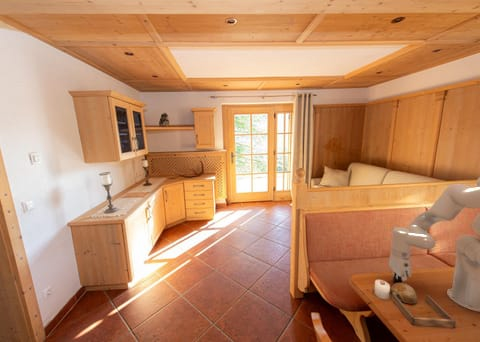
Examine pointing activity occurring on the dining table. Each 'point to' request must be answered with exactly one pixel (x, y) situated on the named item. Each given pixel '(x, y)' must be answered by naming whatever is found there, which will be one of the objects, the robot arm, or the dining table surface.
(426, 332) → the dining table surface
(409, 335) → the dining table surface
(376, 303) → the dining table surface
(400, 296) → the bread roll
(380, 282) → the pot
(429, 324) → the open rail frame
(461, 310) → the dining table surface
